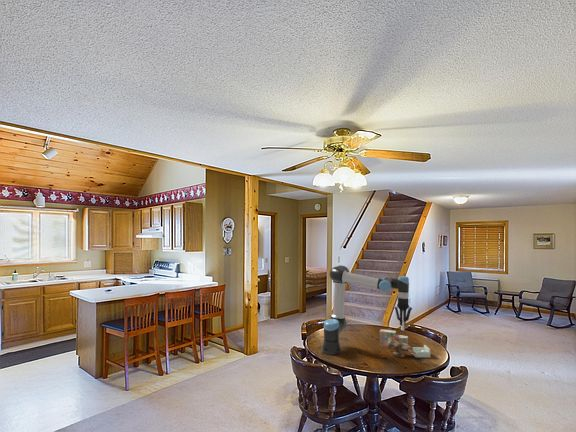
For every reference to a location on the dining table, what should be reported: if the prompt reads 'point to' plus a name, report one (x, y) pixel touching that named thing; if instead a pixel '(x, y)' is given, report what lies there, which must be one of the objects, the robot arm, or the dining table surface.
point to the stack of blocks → (391, 334)
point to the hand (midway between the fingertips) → (402, 329)
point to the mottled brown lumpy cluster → (393, 342)
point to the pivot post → (399, 351)
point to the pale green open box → (421, 354)
